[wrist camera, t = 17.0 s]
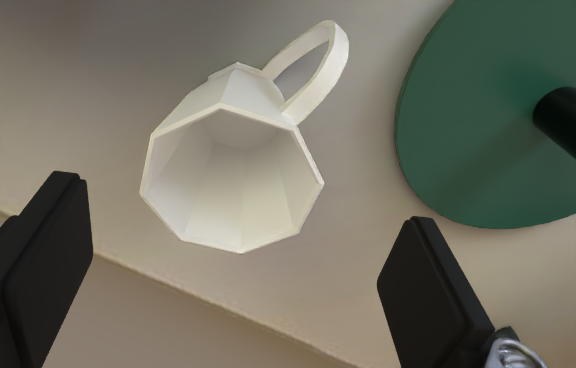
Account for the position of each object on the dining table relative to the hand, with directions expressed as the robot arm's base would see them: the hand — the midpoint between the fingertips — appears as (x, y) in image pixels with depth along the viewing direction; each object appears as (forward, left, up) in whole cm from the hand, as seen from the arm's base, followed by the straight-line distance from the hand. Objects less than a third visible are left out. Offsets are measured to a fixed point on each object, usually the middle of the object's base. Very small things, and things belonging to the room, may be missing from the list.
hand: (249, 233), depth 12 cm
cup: (0, 0, -12) cm, 12 cm away
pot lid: (-2, +16, -11) cm, 20 cm away
